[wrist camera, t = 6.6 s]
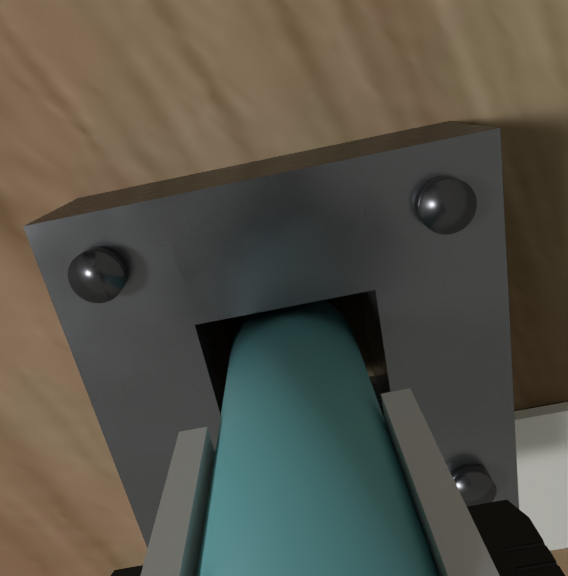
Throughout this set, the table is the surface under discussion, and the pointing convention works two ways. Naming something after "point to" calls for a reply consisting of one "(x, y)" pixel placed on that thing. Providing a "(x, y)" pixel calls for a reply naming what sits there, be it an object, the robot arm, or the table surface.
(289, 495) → the teal cylinder
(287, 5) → the table surface
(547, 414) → the pad
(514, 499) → the housing
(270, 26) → the table surface
